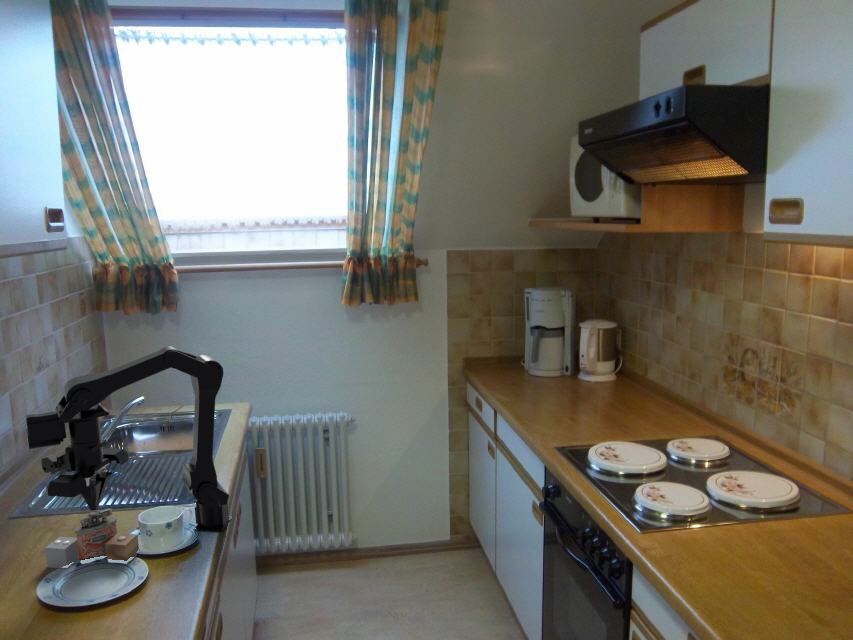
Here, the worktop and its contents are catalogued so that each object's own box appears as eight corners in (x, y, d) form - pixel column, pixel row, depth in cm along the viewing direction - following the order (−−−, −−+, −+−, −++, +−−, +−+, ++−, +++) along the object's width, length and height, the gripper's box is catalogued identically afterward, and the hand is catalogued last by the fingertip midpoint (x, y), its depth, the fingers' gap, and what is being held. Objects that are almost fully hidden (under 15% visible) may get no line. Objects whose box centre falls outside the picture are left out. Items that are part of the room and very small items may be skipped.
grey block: (81, 557, 144) (79, 537, 143) (67, 569, 140) (64, 548, 139) (62, 556, 145) (59, 535, 144) (47, 567, 140) (44, 546, 140)
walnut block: (139, 553, 145) (137, 533, 144) (127, 565, 141) (125, 544, 140) (120, 552, 146) (117, 532, 145) (107, 563, 142) (105, 542, 141)
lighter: (81, 566, 140) (75, 521, 139) (77, 559, 143) (71, 515, 141) (122, 552, 146) (117, 509, 144) (117, 546, 148) (112, 504, 146)
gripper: (79, 422, 150) (87, 488, 152) (17, 454, 131) (27, 529, 134) (126, 424, 148) (132, 491, 151) (69, 457, 130) (78, 532, 133)
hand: (93, 509), depth 142 cm, fingers closed
